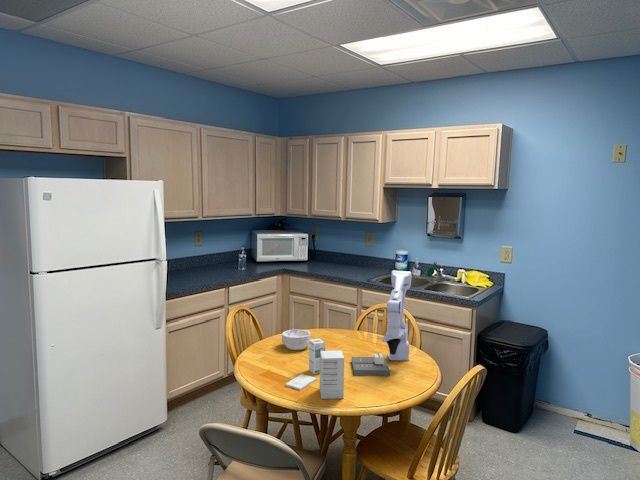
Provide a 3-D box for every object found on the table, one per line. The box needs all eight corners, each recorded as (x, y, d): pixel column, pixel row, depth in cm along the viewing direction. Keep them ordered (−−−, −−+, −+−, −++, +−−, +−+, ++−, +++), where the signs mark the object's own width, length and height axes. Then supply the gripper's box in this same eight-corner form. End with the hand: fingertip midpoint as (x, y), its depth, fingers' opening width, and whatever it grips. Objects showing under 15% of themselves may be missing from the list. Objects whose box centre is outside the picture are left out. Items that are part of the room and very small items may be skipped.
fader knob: (382, 360, 210) (382, 353, 210) (383, 364, 205) (383, 357, 205) (373, 360, 210) (373, 353, 210) (375, 364, 205) (375, 357, 205)
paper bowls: (294, 340, 245) (294, 326, 245) (316, 346, 237) (316, 332, 236) (275, 348, 233) (275, 333, 232) (298, 354, 224) (298, 339, 223)
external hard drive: (316, 381, 194) (300, 391, 184) (300, 377, 199) (284, 387, 188) (316, 377, 194) (300, 388, 184) (300, 373, 198) (284, 383, 188)
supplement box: (344, 399, 177) (344, 358, 175) (320, 399, 176) (321, 358, 174) (340, 388, 186) (341, 349, 185) (319, 388, 186) (319, 350, 184)
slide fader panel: (384, 362, 216) (384, 356, 216) (389, 375, 200) (389, 370, 200) (351, 361, 216) (351, 356, 216) (354, 375, 200) (354, 369, 200)
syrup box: (314, 374, 200) (314, 343, 199) (308, 369, 205) (308, 339, 204) (325, 372, 203) (325, 341, 201) (319, 367, 208) (319, 337, 206)
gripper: (396, 320, 214) (395, 348, 215) (376, 326, 204) (376, 355, 205) (408, 324, 209) (407, 352, 210) (389, 330, 199) (388, 359, 200)
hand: (392, 353), depth 207 cm, fingers closed
